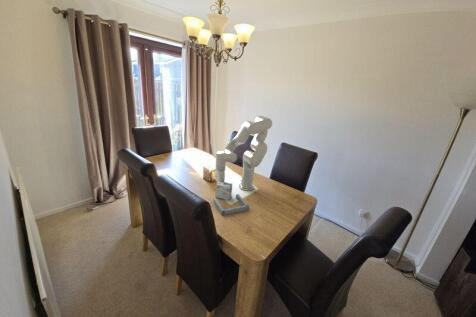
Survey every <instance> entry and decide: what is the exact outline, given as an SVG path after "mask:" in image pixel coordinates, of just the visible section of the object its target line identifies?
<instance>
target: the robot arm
mask: <svg viewBox="0 0 476 317" xmlns="http://www.w3.org/2000/svg"><path fill="white" fill-rule="evenodd" d="M272 126H273V120H272V119H271V118H269V117H268V116H267V117H266V116H264V115H258V116H256V117H255V119H254V122H253V121H251V120H246V121H244V123H242V125H241V127H240V129H239V130H238V132H237V134H236V135H235V137H234V138H232V139H231V140H230V141H229V142H228V143H227V145H226V147H225V148H224V151H223V150H221V151H220V150H219V151H217V152H216V153H215V157H216V158H215V170H214V180H215V181H216V184H217V183H218V182H225V181H226V179H225V178H226V174H225V173H226V172H225V171H226V168H227V167H226V164H227V163H235V162H236V161H237V160H238V155H237V154H236V153H235V152H234V151H235V149H237V147H239V146H240V145H244V144H246V142H247V140H248V139H249V137H250V135H254V136H253V138H252V140H251V142H250V150H246V151H245V152H244V153H243V155H242V174H241V179H240V184H239V185H238V187H239V189H240V190H242V191H245V192H246V191H247V192H250V191H253V190H254V189H255V186H254V184H253V183H254V176H255V168H257V167H258V166H260V165H261V163H262V162H263V160H264V158H265V156H266V154H267V151H268V144H267V143H266V142H265V141H266V139H267V136H268V132H269V131H268V130H270V129H271V128H272Z"/></svg>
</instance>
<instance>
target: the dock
mask: <svg viewBox="0 0 476 317" xmlns="http://www.w3.org/2000/svg"><path fill="white" fill-rule="evenodd" d="M235 199H236V200H237V201H238V202H239V203H240V204H241V205H240V206H233V207H230V208H224V207H222V205H221V204H220V201H219V200H218V199H217V197H213V199H212V202H213V204H214V205H215V207H216V208H217V210H218V211H219V213H220V214H221V216H224V215H225V216H226V215H230V214H235V213H239V212H244V211H248V210H249V209H250V205H249V204H248V203H247V202H246V200H244V198H243V197H241V195H240V194H239V193H237V194H236V195H235Z"/></svg>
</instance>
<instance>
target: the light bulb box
mask: <svg viewBox="0 0 476 317" xmlns="http://www.w3.org/2000/svg"><path fill="white" fill-rule="evenodd" d="M232 194H233V183H232V182H231V183H230V182H225V181H224V182H218V183H217V182H216V187H215V198H220V199H223V200H230V198H232Z"/></svg>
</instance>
